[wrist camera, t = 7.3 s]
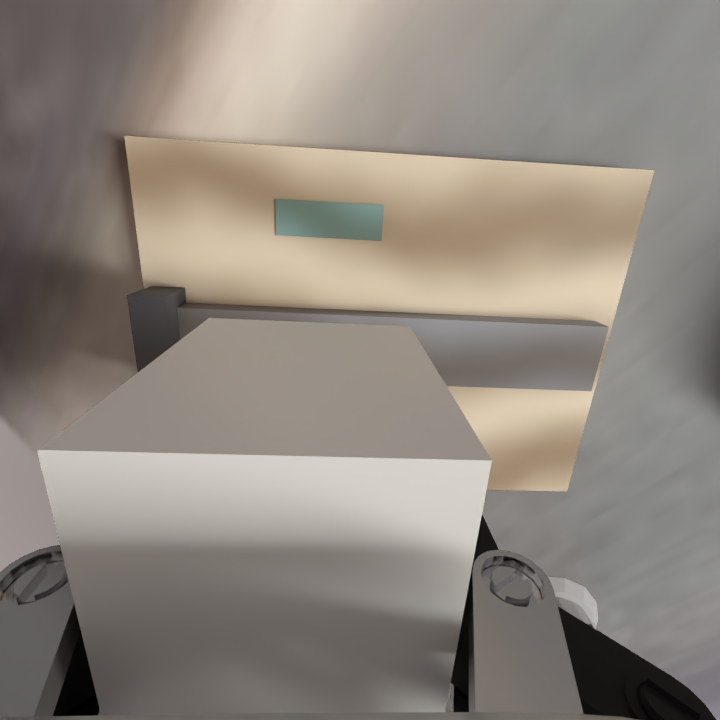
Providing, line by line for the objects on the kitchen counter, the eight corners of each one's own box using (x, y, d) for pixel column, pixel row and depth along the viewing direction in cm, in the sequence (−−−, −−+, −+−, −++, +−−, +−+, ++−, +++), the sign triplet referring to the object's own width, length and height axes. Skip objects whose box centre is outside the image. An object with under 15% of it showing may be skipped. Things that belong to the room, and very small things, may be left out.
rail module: (209, 317, 10) (37, 450, 4) (410, 326, 10) (492, 460, 5) (227, 583, 13) (138, 869, 7) (385, 584, 13) (416, 860, 8)
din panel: (137, 140, 19) (92, 124, 15) (636, 172, 20) (696, 165, 17) (176, 470, 25) (149, 511, 22) (557, 479, 26) (588, 518, 23)
